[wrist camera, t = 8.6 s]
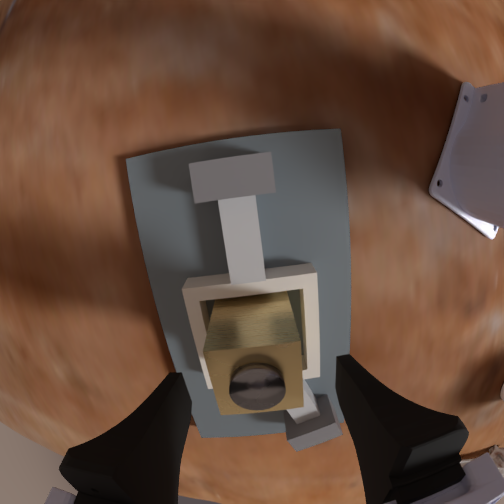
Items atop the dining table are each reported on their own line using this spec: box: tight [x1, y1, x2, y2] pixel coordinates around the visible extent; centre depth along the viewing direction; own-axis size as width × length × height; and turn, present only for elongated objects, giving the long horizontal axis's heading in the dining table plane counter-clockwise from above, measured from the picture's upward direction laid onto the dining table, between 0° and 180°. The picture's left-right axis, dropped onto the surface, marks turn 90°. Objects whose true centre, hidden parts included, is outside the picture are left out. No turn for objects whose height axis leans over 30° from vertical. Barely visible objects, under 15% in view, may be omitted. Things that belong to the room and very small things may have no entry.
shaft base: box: [126, 129, 351, 452], centre depth 17 cm, size 22×12×4 cm, turn 7°
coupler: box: [203, 291, 304, 415], centre depth 15 cm, size 4×4×7 cm
